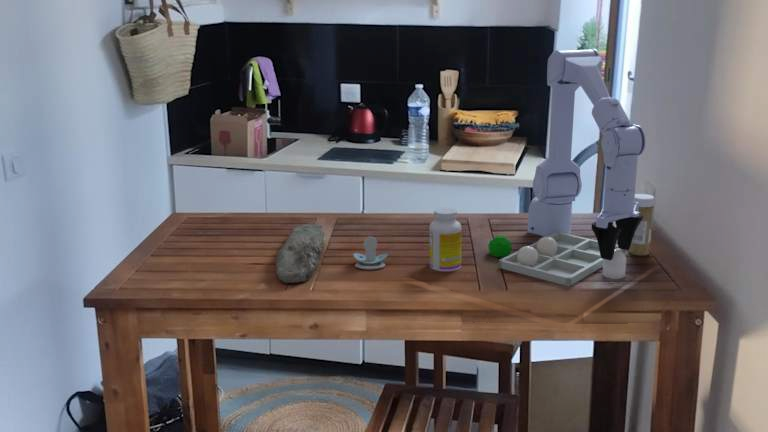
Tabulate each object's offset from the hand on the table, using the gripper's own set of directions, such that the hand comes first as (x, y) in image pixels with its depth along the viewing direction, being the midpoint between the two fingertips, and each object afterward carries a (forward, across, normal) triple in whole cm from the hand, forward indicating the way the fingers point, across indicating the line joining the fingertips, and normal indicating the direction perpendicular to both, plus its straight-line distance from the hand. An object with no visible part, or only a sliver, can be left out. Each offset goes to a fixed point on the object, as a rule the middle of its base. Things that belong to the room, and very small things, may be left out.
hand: (615, 253), depth 157 cm
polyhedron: (+6, -4, +25) cm, 26 cm away
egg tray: (+5, +1, +12) cm, 13 cm away
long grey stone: (+6, -30, +59) cm, 67 cm away
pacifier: (+6, -25, +43) cm, 50 cm away
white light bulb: (+5, 0, 0) cm, 5 cm away
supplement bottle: (+6, -17, +30) cm, 35 cm away
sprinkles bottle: (+6, +16, +2) cm, 17 cm away
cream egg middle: (+4, +1, +16) cm, 17 cm away
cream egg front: (+4, -7, +16) cm, 18 cm away
